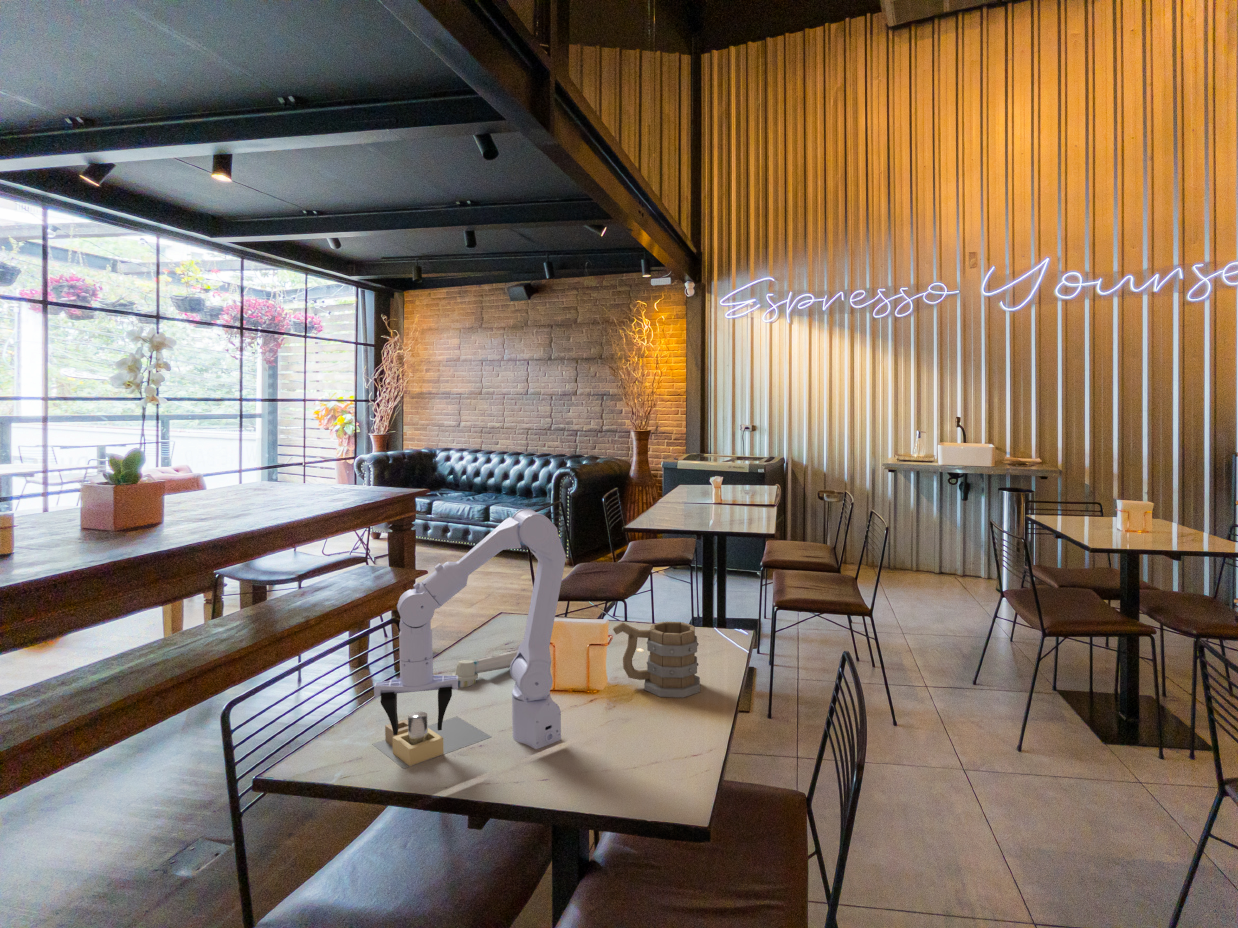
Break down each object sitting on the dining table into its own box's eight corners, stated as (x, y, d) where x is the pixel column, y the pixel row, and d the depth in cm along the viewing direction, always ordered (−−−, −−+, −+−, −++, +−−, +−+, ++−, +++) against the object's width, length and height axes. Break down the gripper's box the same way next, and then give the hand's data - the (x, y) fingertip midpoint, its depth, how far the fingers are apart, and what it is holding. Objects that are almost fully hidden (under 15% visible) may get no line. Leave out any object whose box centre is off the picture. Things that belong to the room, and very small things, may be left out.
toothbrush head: (541, 648, 177) (463, 661, 158) (538, 675, 177) (460, 690, 158) (526, 644, 181) (448, 656, 161) (524, 670, 180) (445, 685, 161)
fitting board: (492, 740, 134) (491, 721, 134) (403, 772, 122) (403, 751, 121) (457, 719, 143) (456, 701, 143) (371, 747, 131) (371, 728, 131)
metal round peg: (431, 753, 127) (430, 715, 127) (413, 759, 125) (412, 720, 124) (423, 746, 130) (422, 709, 129) (405, 752, 127) (404, 714, 127)
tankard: (699, 678, 167) (699, 616, 166) (700, 698, 154) (700, 632, 153) (616, 675, 169) (616, 614, 168) (610, 695, 156) (610, 629, 155)
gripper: (457, 646, 132) (458, 716, 132) (376, 652, 128) (378, 724, 129) (457, 658, 125) (458, 732, 126) (372, 665, 121) (374, 741, 122)
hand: (417, 730), depth 127 cm, fingers open, 7 cm apart
